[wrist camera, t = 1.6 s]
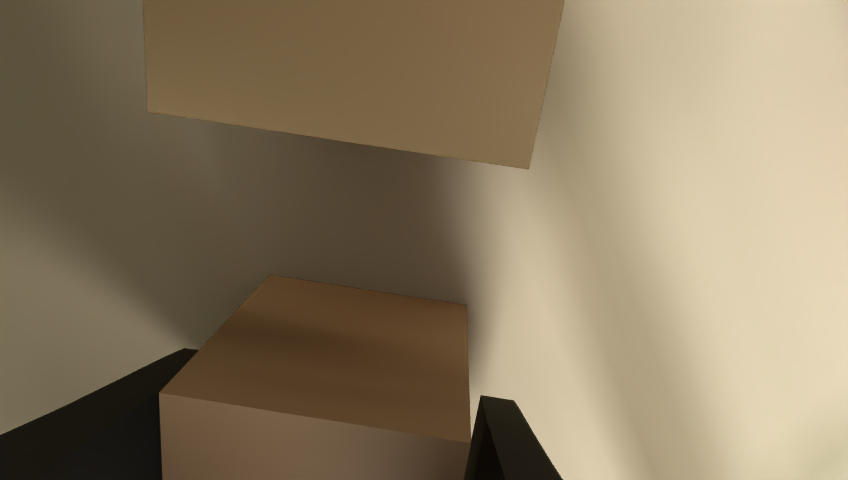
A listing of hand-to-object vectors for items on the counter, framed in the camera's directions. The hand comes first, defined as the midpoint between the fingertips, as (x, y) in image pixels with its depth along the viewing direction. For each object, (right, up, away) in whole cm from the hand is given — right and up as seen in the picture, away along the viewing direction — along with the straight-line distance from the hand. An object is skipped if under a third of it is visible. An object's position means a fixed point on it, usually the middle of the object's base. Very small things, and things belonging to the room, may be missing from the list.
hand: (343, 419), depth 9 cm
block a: (0, 0, +1) cm, 2 cm away
